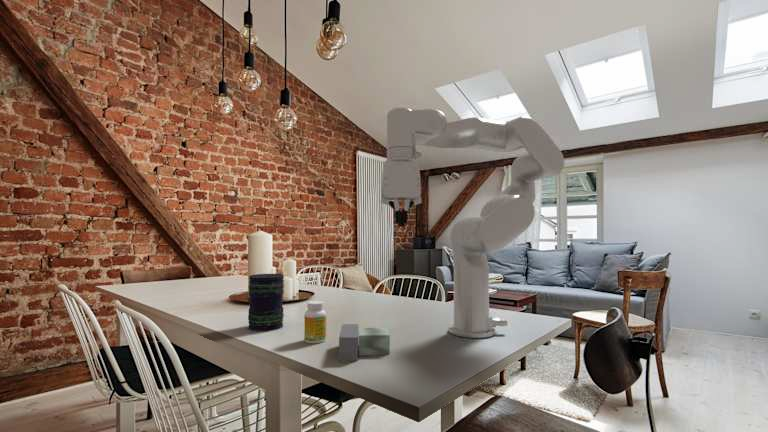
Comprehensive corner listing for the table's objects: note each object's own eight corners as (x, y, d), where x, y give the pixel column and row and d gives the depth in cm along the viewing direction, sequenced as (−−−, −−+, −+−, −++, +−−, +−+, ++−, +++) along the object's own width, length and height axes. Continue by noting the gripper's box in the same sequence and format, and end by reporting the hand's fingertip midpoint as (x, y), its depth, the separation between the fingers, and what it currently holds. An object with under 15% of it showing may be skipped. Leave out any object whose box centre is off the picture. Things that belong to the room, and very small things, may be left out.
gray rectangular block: (358, 344, 96) (358, 324, 96) (357, 360, 84) (357, 337, 84) (341, 344, 95) (342, 324, 96) (339, 361, 83) (339, 337, 84)
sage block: (387, 346, 95) (387, 327, 95) (389, 355, 88) (389, 335, 88) (358, 346, 95) (358, 327, 95) (358, 355, 88) (358, 335, 88)
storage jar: (290, 326, 114) (290, 275, 114) (260, 333, 106) (261, 278, 107) (270, 321, 120) (271, 273, 121) (241, 327, 113) (242, 275, 113)
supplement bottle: (315, 345, 95) (316, 305, 96) (299, 341, 98) (300, 302, 98) (330, 339, 100) (330, 301, 100) (314, 336, 103) (314, 299, 103)
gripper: (427, 159, 106) (427, 226, 105) (372, 159, 105) (372, 226, 105) (432, 154, 99) (432, 226, 98) (373, 153, 98) (372, 226, 97)
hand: (401, 226), depth 101 cm, fingers closed
